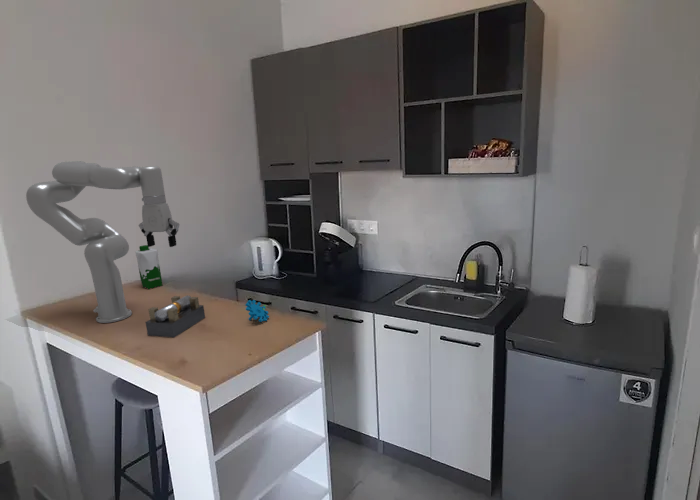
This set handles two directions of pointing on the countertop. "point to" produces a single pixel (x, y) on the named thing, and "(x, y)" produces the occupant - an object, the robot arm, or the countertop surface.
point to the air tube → (178, 305)
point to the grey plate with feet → (175, 319)
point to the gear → (256, 311)
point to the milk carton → (149, 267)
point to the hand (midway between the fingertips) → (162, 246)
